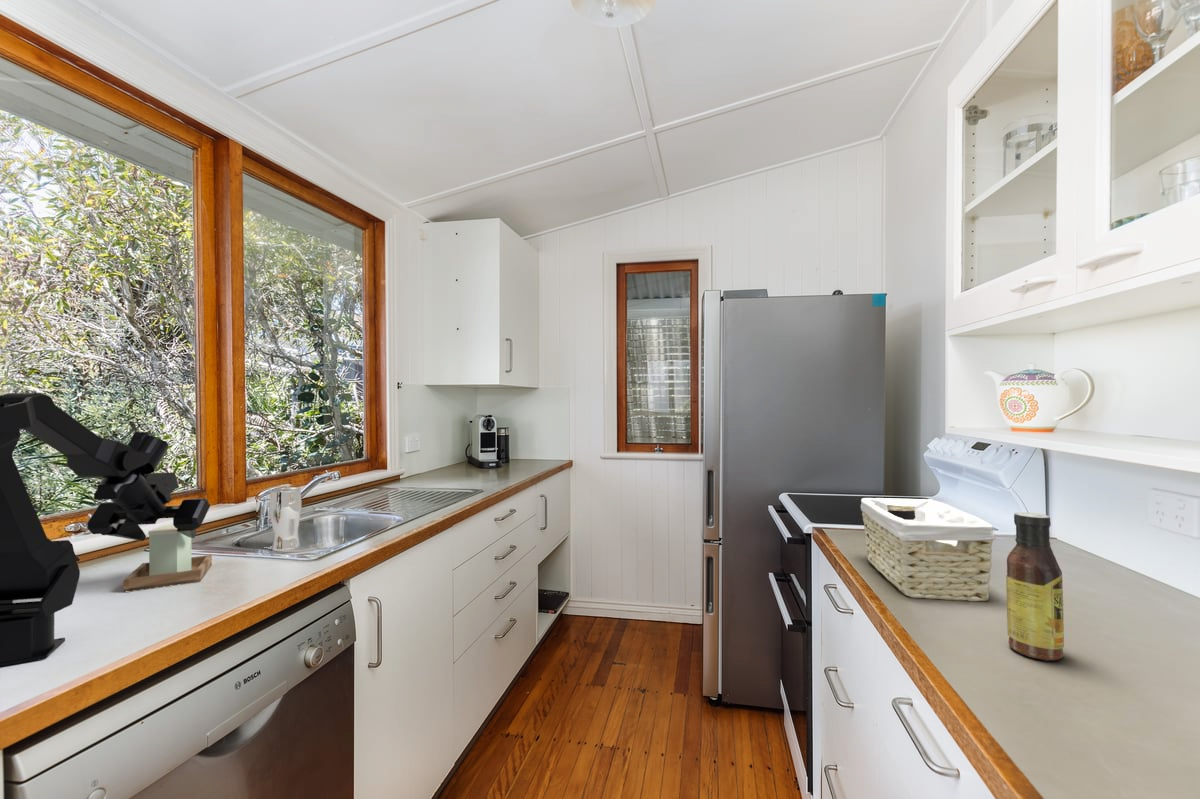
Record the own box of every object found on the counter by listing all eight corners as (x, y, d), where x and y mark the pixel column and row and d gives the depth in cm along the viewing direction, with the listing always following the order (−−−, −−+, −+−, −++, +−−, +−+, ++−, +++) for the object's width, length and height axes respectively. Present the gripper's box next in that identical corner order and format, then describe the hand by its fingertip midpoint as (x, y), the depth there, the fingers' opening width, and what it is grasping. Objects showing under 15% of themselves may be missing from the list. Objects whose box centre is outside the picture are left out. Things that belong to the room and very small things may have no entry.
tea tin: (177, 578, 105) (177, 529, 105) (148, 580, 104) (148, 531, 104) (192, 570, 110) (192, 523, 110) (164, 571, 109) (164, 525, 109)
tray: (200, 581, 105) (200, 570, 105) (123, 592, 99) (123, 580, 99) (211, 565, 115) (211, 554, 115) (142, 574, 109) (142, 563, 109)
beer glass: (286, 552, 125) (286, 492, 125) (262, 551, 126) (262, 491, 126) (308, 544, 132) (307, 487, 132) (285, 543, 133) (285, 486, 133)
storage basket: (1000, 607, 89) (999, 523, 90) (901, 601, 92) (900, 520, 92) (936, 564, 113) (935, 498, 113) (858, 560, 116) (857, 496, 116)
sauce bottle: (1069, 667, 69) (1067, 522, 69) (1010, 655, 72) (1009, 516, 72) (1058, 647, 74) (1056, 513, 74) (1004, 637, 78) (1002, 508, 78)
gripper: (205, 459, 103) (233, 503, 114) (98, 462, 100) (137, 507, 110) (181, 505, 96) (213, 547, 106) (64, 510, 92) (109, 553, 103)
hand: (169, 537), depth 107 cm, fingers open, 9 cm apart
